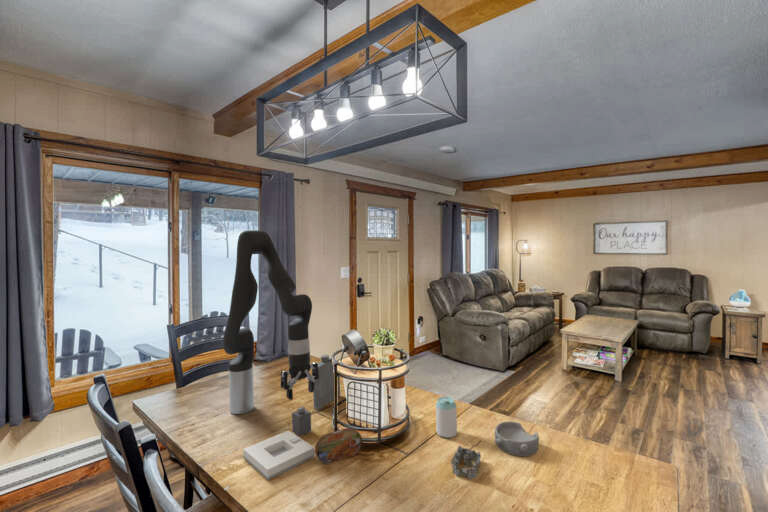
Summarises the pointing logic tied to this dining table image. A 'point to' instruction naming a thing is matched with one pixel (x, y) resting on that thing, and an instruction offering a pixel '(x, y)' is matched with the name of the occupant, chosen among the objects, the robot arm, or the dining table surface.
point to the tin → (338, 445)
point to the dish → (515, 439)
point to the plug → (301, 421)
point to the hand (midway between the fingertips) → (300, 395)
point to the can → (446, 417)
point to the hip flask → (324, 383)
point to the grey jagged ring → (466, 462)
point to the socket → (278, 454)
